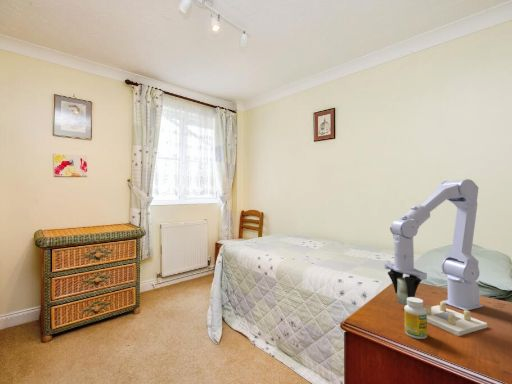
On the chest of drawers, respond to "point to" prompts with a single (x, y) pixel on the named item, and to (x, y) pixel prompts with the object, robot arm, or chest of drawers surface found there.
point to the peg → (402, 291)
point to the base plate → (453, 320)
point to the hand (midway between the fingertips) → (404, 295)
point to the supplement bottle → (415, 318)
